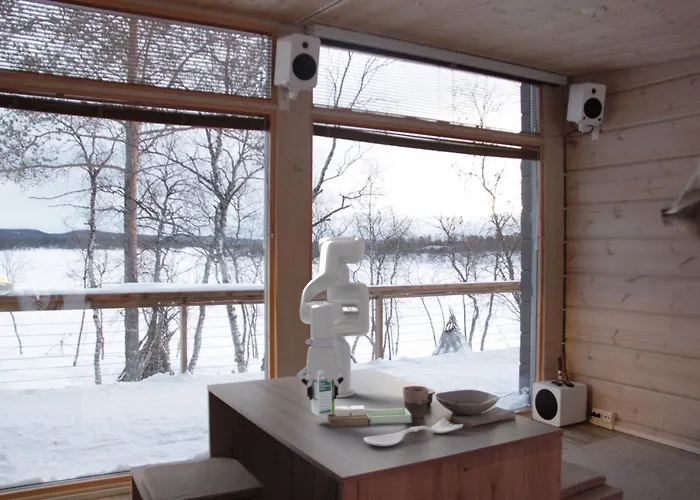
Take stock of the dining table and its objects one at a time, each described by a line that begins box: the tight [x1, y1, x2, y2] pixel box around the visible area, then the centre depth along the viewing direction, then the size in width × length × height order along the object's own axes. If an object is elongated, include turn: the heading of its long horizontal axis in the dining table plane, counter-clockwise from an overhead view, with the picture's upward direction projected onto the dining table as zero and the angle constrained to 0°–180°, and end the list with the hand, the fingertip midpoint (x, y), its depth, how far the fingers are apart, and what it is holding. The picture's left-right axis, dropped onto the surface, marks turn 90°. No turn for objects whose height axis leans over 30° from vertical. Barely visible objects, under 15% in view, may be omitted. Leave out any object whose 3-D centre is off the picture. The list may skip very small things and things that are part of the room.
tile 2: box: [349, 405, 366, 416], centre depth 203 cm, size 4×4×2 cm
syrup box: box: [310, 370, 335, 417], centre depth 201 cm, size 6×6×14 cm
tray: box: [365, 407, 413, 426], centre depth 204 cm, size 9×14×2 cm, turn 98°
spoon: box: [363, 417, 464, 448], centre depth 185 cm, size 9×32×4 cm, turn 122°
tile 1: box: [334, 405, 350, 416], centre depth 202 cm, size 4×4×2 cm
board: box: [326, 413, 369, 428], centre depth 202 cm, size 10×12×2 cm
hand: (322, 398), depth 201 cm, fingers closed on syrup box, 7 cm apart
